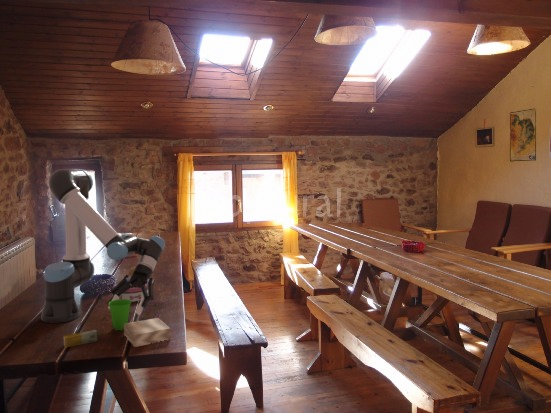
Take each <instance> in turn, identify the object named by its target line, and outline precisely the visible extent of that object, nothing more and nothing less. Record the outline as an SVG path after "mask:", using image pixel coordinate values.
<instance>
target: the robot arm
mask: <svg viewBox="0 0 551 413" xmlns="http://www.w3.org/2000/svg"><path fill="white" fill-rule="evenodd" d="M93 185H94V180H93V178H92V175H91V174H90V173H89V172H88V171H87V170H85V169H82V168H76V167H75V168H61V169H57V170H55V171H53V173H51V175H50V176H49V179H48V186H49V190H50V192H51V194H52V195H53V196H54V197H55V199H56V200H57V201H58V202H59V203H60V204H62V205H64V216H65V219H64V226H65V227H64V228H65V255H63V256H62V261H57V262H56V263H54V262H53V263H50V264H48V265H46V267H45V268H44V272H43V273H44V274H43V280H44V304H43V308H42V311H41V313H40V321H42V322H43V323H46V324H47V323H50V324H56V323H58V324H59V323H66V322H70V321H73V320H76V319H77V318H78V317H79V316H80V309H79V307H78V304H77V302H76V299H75V289H76V288H78V287H81V286H82V285H85V284H86V283H88V282H89V281H90V280H92V279H93V276H94V274H95V266H94V263H93V262H92V261H91V259H90V258H91V257H90V255H89V254H88V253H87V233H86V232H87V230H86V229H88V230H89V231H90V232H91V233H92V234H93V235H94V237H95V238H97V239H98V241H100V243H101V244H102V245H103V246H104V247H105V248H106V253H107V254H106V255H107V257H108V258H110V259H111V260H112V261H113V260H114V261H119V260H123V259H125V258H126V257H128V256H131V255H139V256H140V258H139V260H138V262H137V264H136V265H135V266H136V268H135V270H134V272H133V275H132V276H131V277H130V276H128V274H126V275H124V277H123V278H122V279H121V280H120V281H119V282H118V283H116V284H115V285H116V286H115V285H114V287H113V288H112V289H111V290H110V293H111V294H112V295H113V296H111V299H110V301H109V302H111V301H113V300H118V299H119V297H118V296H120V295H121V294H123V293H124V292H125V291H127V290H128V289H130V288H133V287H135V288H136V287H138V288H141V289H142V292H143V295H144V298H142V299H141V301H140V302H138V303H139V304H138V306H137V307H136V310H135V314H136V315H137V316H141V315H142V312H143V310H144V308H146V307H147V305H148V302H149V301H154V299H155V297H154V292H155V291H154V284H155V280H154V279H153V277H152V275H153V271H154V270H155V268H156V266H157V264H158V261H159V259H160V257H161V255H162V254H163V251H164V248H165V246H166V241H165V240H164V238H162V237H160V236H158V235H152V236H151V237H149V239H147V238H142V237H139V236H135V235H132V234H125V233H124V234H122V235H120V234H119V233H118V232H117V231H116V230H115V229H114V228H113V226H112V225H111V224H110V223H109V222H108V221H107V220H106V219H105V218H104V216H102V215H101V214H100V212H98V210H97V209H96V208H95V207H94V206H93V205H92V204H91V203H90V202H89V201H88V199H89V196H90V195H89V194H90V193H89V192H90V191H91V190H92V189H93ZM130 283H131V285H130ZM145 284H147V287H148V293H147V290H146V286H145ZM117 293H118V294H117ZM148 295H149V296H148ZM107 309H108V310H109V311H110V306H109V305H108V307H107Z"/></svg>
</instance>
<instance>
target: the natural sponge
mask: <svg viewBox="0 0 551 413" xmlns="http://www.w3.org/2000/svg"><path fill="white" fill-rule="evenodd" d="M136 266H137V265H134V266H132V267H131V268H130V269H129V271H128V274H127V275H128V276H130V277H131V276H132V275H133V272H134V270H135V268H136Z"/></svg>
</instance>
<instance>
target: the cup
mask: <svg viewBox="0 0 551 413" xmlns="http://www.w3.org/2000/svg"><path fill="white" fill-rule="evenodd" d="M131 304H133V303H132V302H131V301H130V300H126V299H119V300H113V301H111V302H110V301H109V302H108V304H107V305H108V307H109V306H110V310H109V311H110V318H111V320H112V326H113V330H114V329H115V330H114V331H117V330H121V331H123V330H122V329H124V324H125V323H129V318H130V317H129V315H130V309H131Z"/></svg>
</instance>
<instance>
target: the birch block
mask: <svg viewBox="0 0 551 413" xmlns="http://www.w3.org/2000/svg"><path fill="white" fill-rule="evenodd" d="M123 335H124V337H125V336H126V337H127V338H128V339H127V338H126V337H125V338H126V339H127V340H128V341H129V342H130V344H131V345H132V346H133V347H134V348H136V347H142V346H145V345H150V344H151V343H152V344H157V343H161V342H160V341H162V342H165V341H164V340H167V341H169V340H168V339H171V327H170V326H168V325H167V324H166V323H165V322H164V320H161V319H160V318H159V317H154V318H150V319H149V318H148V319H144V320H138V321H131V322H128V323H125V324H124V330H123ZM156 342H157V343H156ZM152 344H151V345H152Z"/></svg>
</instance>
